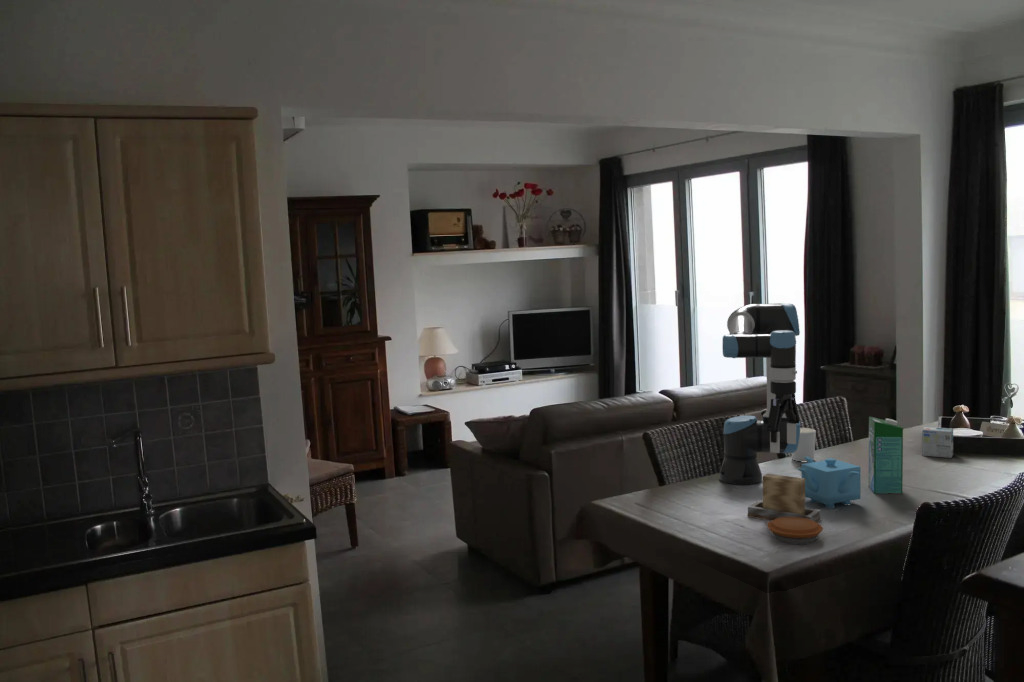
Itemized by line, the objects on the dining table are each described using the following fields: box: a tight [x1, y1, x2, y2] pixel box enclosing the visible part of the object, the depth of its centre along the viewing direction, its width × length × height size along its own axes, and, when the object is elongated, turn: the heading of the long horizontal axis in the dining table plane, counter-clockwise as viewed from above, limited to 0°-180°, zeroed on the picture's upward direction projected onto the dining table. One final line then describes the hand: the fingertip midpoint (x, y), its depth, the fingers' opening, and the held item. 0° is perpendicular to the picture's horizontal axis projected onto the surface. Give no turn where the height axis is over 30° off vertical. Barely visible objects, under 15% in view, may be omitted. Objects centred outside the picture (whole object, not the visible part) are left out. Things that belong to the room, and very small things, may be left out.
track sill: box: [747, 500, 822, 523], centre depth 264 cm, size 20×9×3 cm, turn 51°
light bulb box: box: [921, 426, 954, 459], centre depth 335 cm, size 11×7×11 cm, turn 58°
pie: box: [767, 517, 824, 545], centre depth 246 cm, size 15×16×5 cm
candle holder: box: [791, 427, 817, 462], centre depth 336 cm, size 10×10×12 cm
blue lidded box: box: [797, 457, 862, 509], centre depth 278 cm, size 19×19×15 cm
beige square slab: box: [762, 473, 806, 515], centre depth 264 cm, size 12×4×12 cm, turn 51°
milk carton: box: [868, 416, 904, 495], centre depth 289 cm, size 9×9×25 cm
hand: (783, 448), depth 262 cm, fingers open, 13 cm apart
